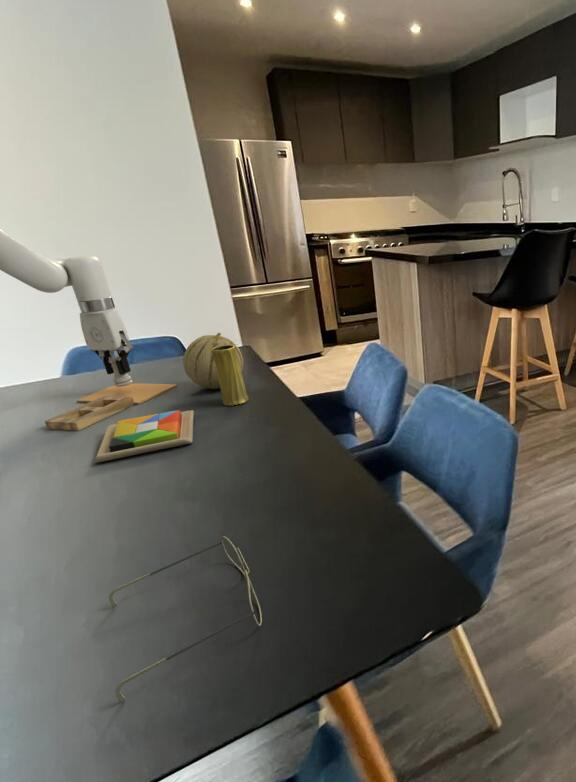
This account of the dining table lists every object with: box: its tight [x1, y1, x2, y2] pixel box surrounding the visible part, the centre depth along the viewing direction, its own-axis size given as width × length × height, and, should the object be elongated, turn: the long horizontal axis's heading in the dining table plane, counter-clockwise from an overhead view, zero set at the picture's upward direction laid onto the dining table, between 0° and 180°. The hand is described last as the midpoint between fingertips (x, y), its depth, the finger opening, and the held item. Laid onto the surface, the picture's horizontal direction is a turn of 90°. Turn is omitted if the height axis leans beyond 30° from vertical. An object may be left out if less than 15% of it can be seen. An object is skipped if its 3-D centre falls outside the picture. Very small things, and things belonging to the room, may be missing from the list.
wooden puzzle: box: [93, 409, 195, 464], centre depth 106 cm, size 17×19×4 cm
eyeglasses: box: [108, 535, 263, 704], centre depth 57 cm, size 16×15×5 cm
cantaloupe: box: [182, 332, 244, 390], centre depth 134 cm, size 15×15×15 cm
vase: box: [212, 345, 250, 407], centre depth 122 cm, size 6×6×14 cm
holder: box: [44, 396, 135, 432], centre depth 121 cm, size 9×16×2 cm, turn 167°
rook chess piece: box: [108, 355, 134, 387], centre depth 135 cm, size 4×4×8 cm
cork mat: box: [76, 382, 178, 405], centre depth 136 cm, size 20×14×1 cm
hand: (119, 372), depth 135 cm, fingers closed on rook chess piece, 3 cm apart
